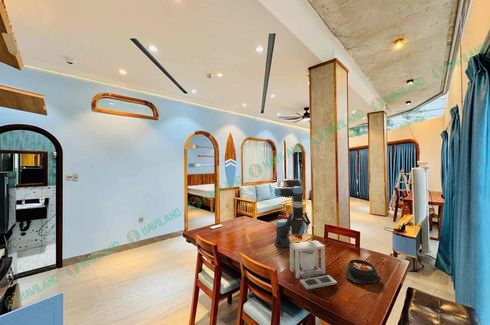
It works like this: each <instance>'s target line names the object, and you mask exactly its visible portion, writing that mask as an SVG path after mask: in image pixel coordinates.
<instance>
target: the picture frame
mask: <svg viewBox="0 0 490 325" xmlns="http://www.w3.org/2000/svg"><path fill="white" fill-rule="evenodd" d="M300 242H301V241H296V242H295V243H300ZM288 263H289V264H290V259H289V260H288ZM299 263H300V252H299ZM294 270H295V258H294ZM320 275H321V276H322V275H324V274H323V269H321V267H318V266H317V265H315V266H314V270H313V271H307V272H302V271H301V270H300V277H302V279H305V278H310V277H314V276H320Z"/></svg>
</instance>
